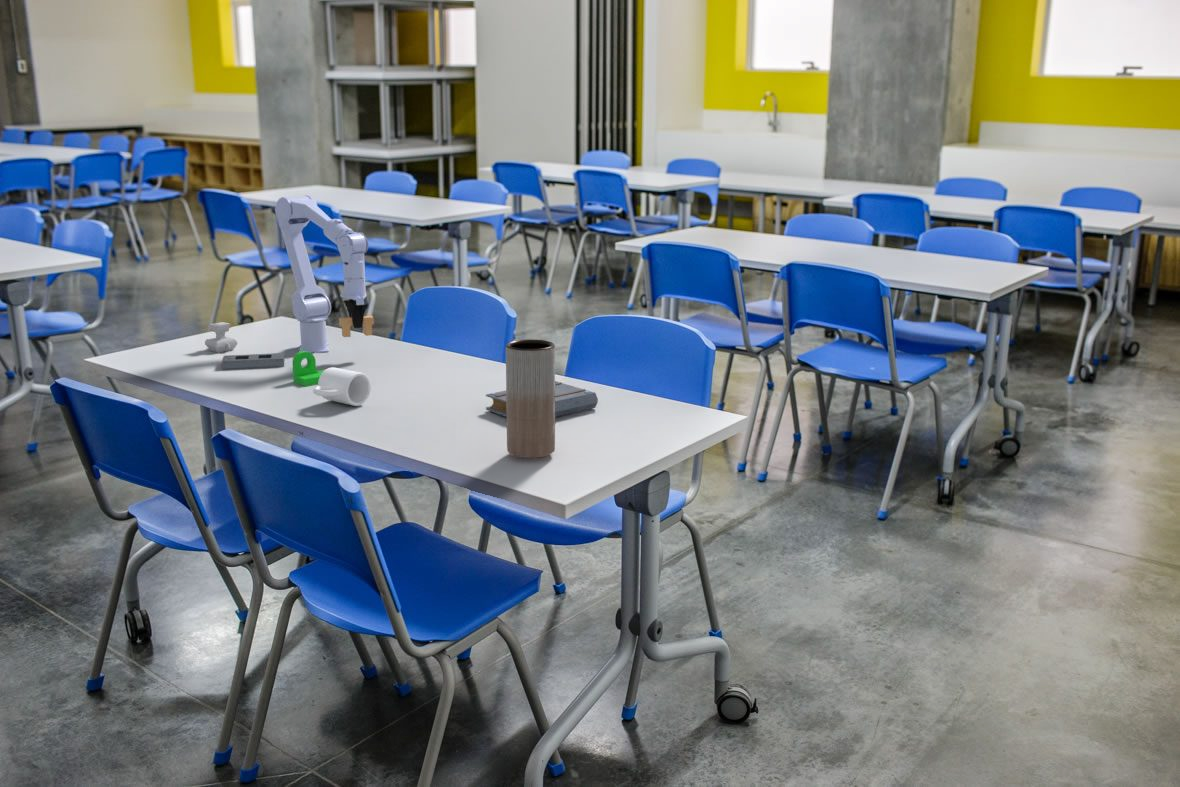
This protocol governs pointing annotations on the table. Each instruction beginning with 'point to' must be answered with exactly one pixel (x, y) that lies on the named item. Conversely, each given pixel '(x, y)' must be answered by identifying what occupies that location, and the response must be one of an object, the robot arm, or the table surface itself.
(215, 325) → the stamp
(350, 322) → the tan wooden block
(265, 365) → the grey flat block
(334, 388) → the mug
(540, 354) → the planter
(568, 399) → the book
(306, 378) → the mechanical part
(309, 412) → the table surface
